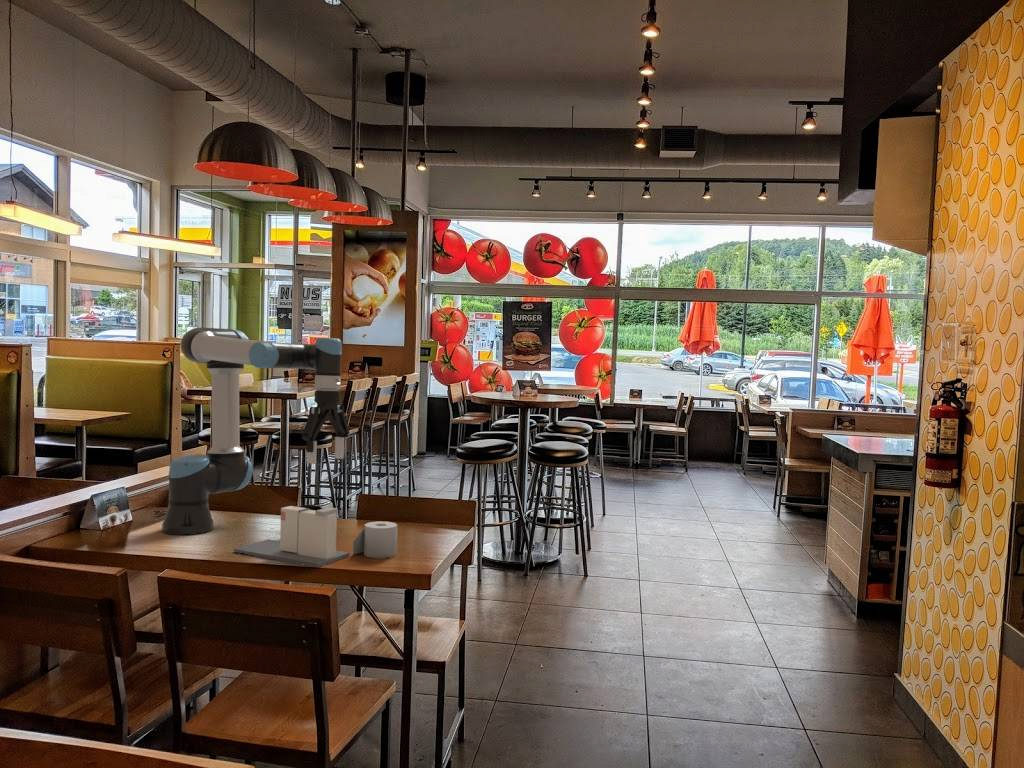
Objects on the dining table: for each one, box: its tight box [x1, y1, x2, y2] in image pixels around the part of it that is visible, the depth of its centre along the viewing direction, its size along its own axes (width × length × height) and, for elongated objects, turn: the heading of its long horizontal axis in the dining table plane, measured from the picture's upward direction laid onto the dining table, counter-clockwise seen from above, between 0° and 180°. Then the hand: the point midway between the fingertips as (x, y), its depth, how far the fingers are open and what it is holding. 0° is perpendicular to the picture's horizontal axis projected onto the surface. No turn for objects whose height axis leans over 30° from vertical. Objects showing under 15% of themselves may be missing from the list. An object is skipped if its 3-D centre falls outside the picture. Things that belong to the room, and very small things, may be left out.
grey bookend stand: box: [233, 507, 351, 568], centre depth 219 cm, size 30×14×14 cm, turn 65°
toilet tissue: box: [352, 520, 398, 559], centre depth 222 cm, size 9×13×9 cm
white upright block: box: [279, 505, 307, 553], centre depth 219 cm, size 6×4×12 cm
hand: (325, 460), depth 230 cm, fingers open, 13 cm apart
